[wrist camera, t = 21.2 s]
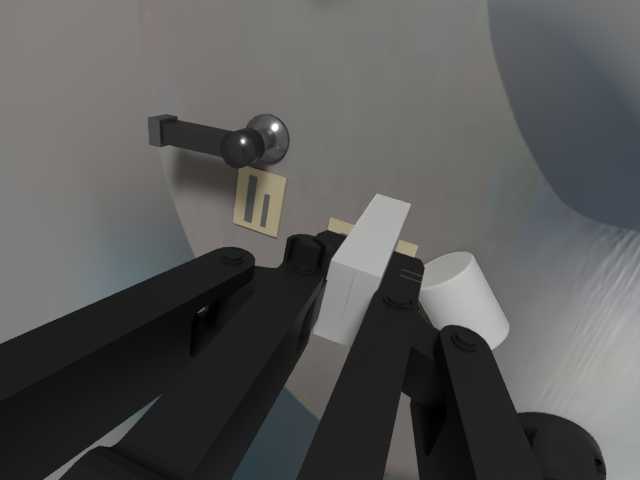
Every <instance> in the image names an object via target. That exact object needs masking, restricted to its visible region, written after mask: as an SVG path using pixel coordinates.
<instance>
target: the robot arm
mask: <svg viewBox="0 0 640 480" xmlns="http://www.w3.org/2000/svg"><path fill="white" fill-rule="evenodd" d="M410 206H411V204H409V203H406V202H403V201H399V200H396V199H393V198H390V197H386V196H383V195H380V194H376V196H375V197H374V198H373V200H372V201H371V203H370V204H369V206H368V207H367V209H366V210H365V211H364V213H363V214H362V216H361V217H360V219H359V220H358V222H357V223H356V224H355V226H354V227H353V229H352V230H351V232H350V233H349V235H348V236H345V235H342V234H339V233H336V232H333V231H330V230H327V231H324V232H321V233H318V234H317V236H311V235H307V234H297V235H292V236H290V237H288V238H287V243H286V248H285V254H284V259H283V262H282V264H281V265H280V266H279V267H278V268H267V267H260V266H254V265H255V258H254V256H253V255H252V254H251V253H250V252H248V251H246V250H244V249H241V248H236V247H223V248H219V249H216V250H214V251H211V252H209V253H207V254H204V255H202V256H200V257H198V258H195V259H193V260H191V261H189V262H186V263H184V264H182V265H179V266H177V267H175V268H172V269H170V270H168V271H166V272H163V273H161V274H159V275H156V276H154V277H152V278H150V279H147V280H145V281H143V282H141V283H138V284H136V285H134V286H131V287H129V288H127V289H125V290H122V291H120V292H118V293H115V294H113V295H111V296H109V297H106V298H104V299H102V300H100V301H97V302H95V303H93V304H90V305H88V306H86V307H84V308H81V309H79V310H77V311H74V312H72V313H70V314H68V315H65V316H63V317H61V318H58V319H56V320H54V321H52V322H49V323H47V324H45V325H42V326H40V327H38V328H36V329H33V330H31V331H29V332H27V333H24V334H22V335H20V336H17V337H15V338H13V339H10V340H8V341H6V342H4V343H1V344H0V480H43V479H45V478H46V477H47V476H49V475H50V474H52V473H53V472H54V471H56V470H57V469H59V468H60V467H61V466H62V465H64V464H66V463H67V462H68V461H70V460H71V459H72V458H74V457H75V456H77V455H78V454H79V453H81V452H82V451H84V450H85V449H86V448H88V447H89V446H91V445H92V444H93V443H95V442H96V441H97V440H99V439H100V438H102V437H103V436H104V435H106V434H107V433H109V432H110V431H111V430H113V429H114V428H115V427H117V426H118V425H120V424H121V423H122V422H124V421H125V420H127V419H128V418H129V417H131V416H132V415H133V414H135V413H136V412H138V411H139V410H141V409H142V408H143V407H145V406H146V405H147V404H149V403H150V402H151V401H153V400H154V399H156V398H157V397H159V396H160V395H161V394H162V395H161V396H160V397H159V399H158V400H157V401H156V402H155V403H154V404H153V405H152V406H151V407H150V408H149V410H148V411H147V412H146V413H145V414H144V415H143V416H142V417H141V418H140V419H139V421H138V422H137V423H136V424H135V425H134V426H133V427H132V428H131V429H130V430H129V431H128V433H127V434H126V435H125V436H124V437H123V438H122V439H121V440H120V441H119V442H118V443H117V444H115V445H114V446H112V447H104V446H98V447H96V448H94V449H92V450H90V451H88V452H87V453H86V454H85V455H83V456H82V457H81V458H80V459H79V460H78V461H77V462H75V463H74V465H73V466H72V467H71V468H70V469H69V470H68V471H67V472H66V473H65V474H64V475H63V476H62V477H61V478H60V479H59V480H231V479H232V477H233V475H234V473H235V471H236V470H237V468H238V466H239V464H240V463H241V461H242V459H243V457H244V456H245V454H246V452H247V450H248V448H249V447H250V445H251V443H252V441H253V440H254V438H255V436H256V434H257V432H258V431H259V429H260V427H261V425H262V424H263V422H264V420H265V418H266V417H267V415H268V413H269V411H270V410H271V408H272V406H273V404H274V402H275V401H276V399H277V397H278V395H279V394H280V391H281V390H282V388H283V386H284V385H285V383H286V381H287V379H288V378H289V376H290V374H291V372H292V371H293V369H294V367H295V365H296V363H297V362H298V360H299V358H300V356H301V355H302V353H303V351H304V349H305V347H306V346H307V344H308V340H309V336H310V332H311V330H312V328H313V326H314V325H315V328H314V332H313V334H316V335H319V336H321V337H324V338H326V339H329V340H331V341H334V342H337V343H339V344H342V345H344V346H347V347H349V348H351V349H350V352H349V354H348V356H347V359H346V361H345V364H344V366H343V368H342V371H341V373H340V376H339V378H338V380H337V383H336V385H335V388H334V390H333V392H332V395H331V397H330V400H329V402H328V404H327V407H326V409H325V412H324V414H323V416H322V419H321V421H320V424H319V426H318V428H317V431H316V433H315V436H314V438H313V440H312V443H311V445H310V448H309V450H308V452H307V455H306V457H305V460H304V462H303V465H302V467H301V469H300V472H299V474H298V476H297V479H296V480H383V475H384V471H385V466H386V461H387V457H388V452H389V447H390V442H391V438H392V433H393V428H394V423H395V419H396V414H397V409H398V404H399V400H400V395H401V391H402V392H403V393H405V394H406V395H407V396H409V397H410V398H411V402H410V409H411V417H412V424H413V432H414V440H415V448H416V455H417V463H418V471H419V479H420V480H606V467H605V462H604V459H603V456H602V453H601V450H600V448H599V446H598V444H597V442H596V441H595V439H594V438H593V437H592V436H591V435H590V434H589V433H588V432H587V431H586V430H584V429H583V428H582V427H580V426H579V425H577V424H575V423H573V422H571V421H569V420H567V419H565V418H562V417H559V416H555V415H551V414H546V413H538V412H525V413H517V412H516V410H515V407H514V405H513V402H512V400H511V398H510V395H509V393H508V390H507V388H506V385H505V383H504V380H503V378H502V376H501V373H500V371H499V368H498V366H497V363H496V361H495V358H494V356H493V354H492V351H491V349H490V346H489V345H488V343H487V342H486V340H485V339H484V338H482V337H481V336H480V335H479V334H478V333H476V332H475V331H472V330H471V329H469V328H466V327H463V326H460V325H447V326H444V327H443V328H442V329H441V330H438V329H437V328H435V327H433V326H432V325H430V324H429V323H427V322H426V321H425V320H424V319H423V318H422V317H421V315H420V314H419V312H418V304H417V302H418V298H419V293H420V289H421V284H422V279H423V275H424V270H425V267H424V265H423V263H422V261H421V260H420V259H417V258H414V257H411V256H408V255H405V254H402V253H399V252H396V249H397V246H398V243H399V240H400V237H401V234H402V231H403V228H404V225H405V222H406V218H407V215H408V212H409V209H410ZM203 307H205V310H204V311H202V312H200V313H197V312H198V311H200V309H202V308H203ZM315 323H316V324H315Z"/></svg>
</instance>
